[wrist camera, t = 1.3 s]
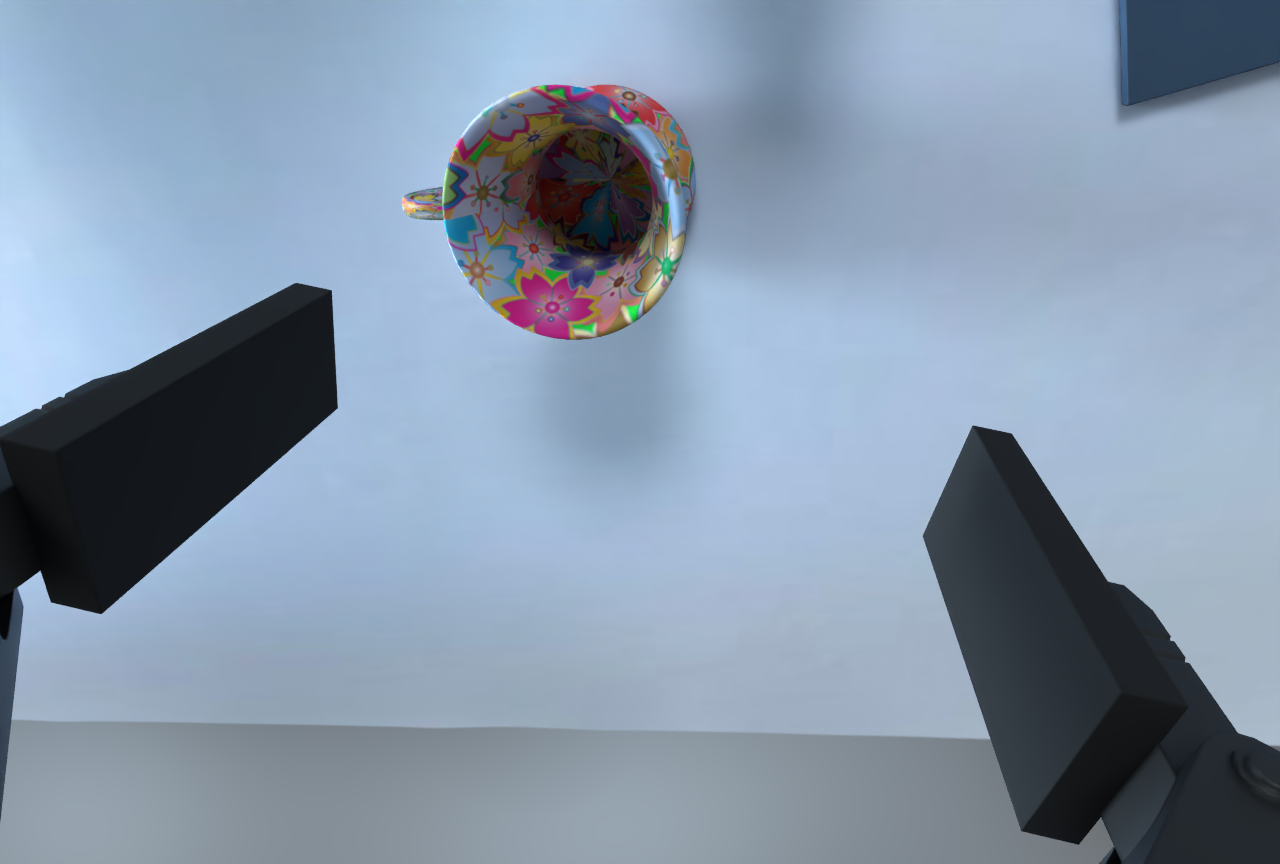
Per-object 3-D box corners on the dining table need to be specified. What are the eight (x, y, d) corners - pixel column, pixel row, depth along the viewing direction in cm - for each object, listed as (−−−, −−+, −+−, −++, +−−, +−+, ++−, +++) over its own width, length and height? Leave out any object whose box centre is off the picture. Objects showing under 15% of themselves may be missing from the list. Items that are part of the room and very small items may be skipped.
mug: (709, 75, 33) (690, 86, 24) (700, 273, 38) (681, 347, 28) (460, 73, 35) (352, 82, 25) (480, 263, 39) (393, 330, 30)
